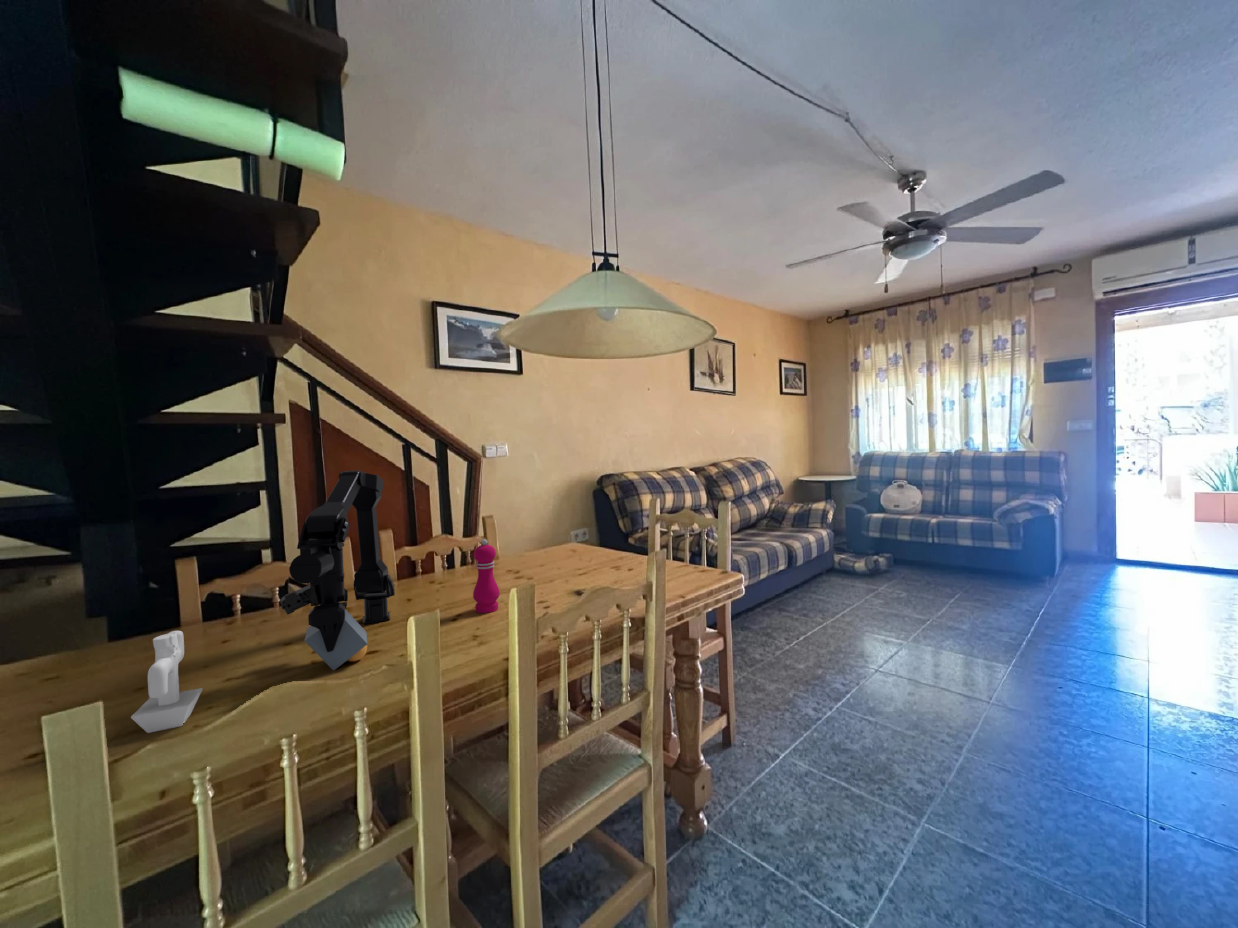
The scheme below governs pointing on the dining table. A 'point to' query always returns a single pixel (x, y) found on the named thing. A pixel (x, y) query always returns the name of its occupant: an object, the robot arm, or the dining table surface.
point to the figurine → (166, 688)
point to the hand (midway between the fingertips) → (331, 644)
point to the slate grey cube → (338, 642)
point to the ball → (358, 654)
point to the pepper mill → (485, 579)
